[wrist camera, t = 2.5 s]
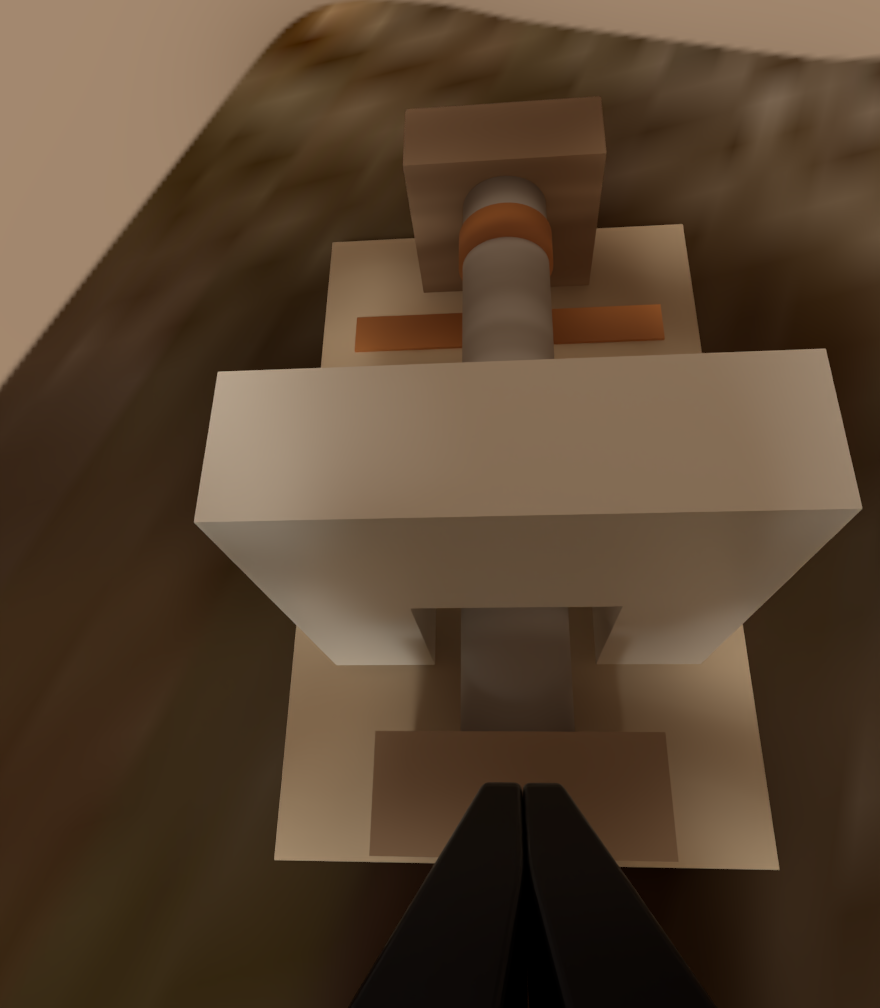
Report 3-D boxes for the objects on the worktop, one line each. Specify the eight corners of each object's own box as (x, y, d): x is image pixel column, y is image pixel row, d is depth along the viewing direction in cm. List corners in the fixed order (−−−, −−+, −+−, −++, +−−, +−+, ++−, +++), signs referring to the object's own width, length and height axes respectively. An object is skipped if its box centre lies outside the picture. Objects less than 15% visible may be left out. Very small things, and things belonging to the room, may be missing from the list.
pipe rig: (765, 868, 17) (878, 879, 12) (286, 859, 18) (191, 865, 13) (676, 247, 24) (721, 82, 19) (339, 263, 25) (293, 111, 20)
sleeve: (700, 664, 18) (862, 508, 9) (336, 665, 18) (194, 521, 10) (684, 536, 19) (814, 301, 11) (345, 541, 20) (225, 327, 11)
